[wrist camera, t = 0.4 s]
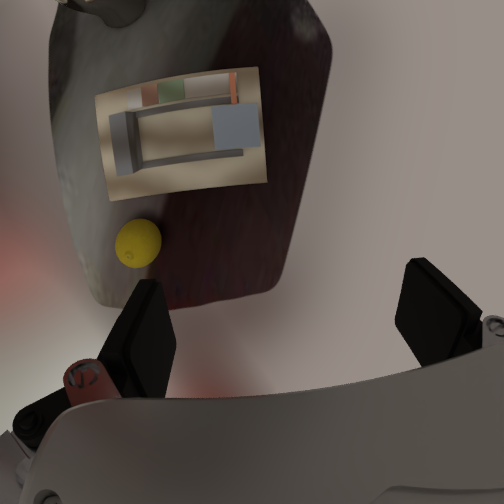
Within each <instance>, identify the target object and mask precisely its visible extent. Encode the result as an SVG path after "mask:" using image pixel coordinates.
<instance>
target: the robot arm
mask: <svg viewBox="0 0 504 504" xmlns="http://www.w3.org/2000/svg"><path fill="white" fill-rule="evenodd" d="M481 314H482V310H481V309H480V308H479V307H478V306H477V305H476V304H475V303H474V302H473V301H472V300H471V299H470V298H469V297H467V295H466V294H464V293H463V292H462V291H461V290H460V289H459V288H458V287H457V286H456V285H455V284H454V283H453V282H451V280H449V279H448V278H447V277H446V276H445V275H444V274H443V273H442V272H441V271H440V270H438V269H437V268H436V267H435V266H434V265H433V264H432V263H430V262H429V261H428V260H427V259H426V258H424V257H423V258H412V259H411V260H410V261H409V262H408V263H407V264H406V268H405V273H404V279H403V284H402V289H401V294H400V298H399V302H398V307H397V311H396V315H395V325H396V327H397V329H398V330H399V332H400V333H401V335H402V336H403V338H404V340H405V341H406V343H407V344H408V346H409V347H410V349H411V350H412V352H413V353H414V355H415V357H416V358H417V360H418V362H419V363H420V365H421V366H422V367H421V368H417V369H413V370H409V371H405V372H401V373H397V374H393V375H388V376H384V377H380V378H375V379H371V380H366V381H361V382H356V383H350V384H344V385H339V386H332V387H327V388H320V389H312V390H305V391H297V392H288V393H279V394H269V395H256V396H241V397H219V398H165V395H166V390H167V386H168V381H169V377H170V372H171V368H172V364H173V359H174V355H175V350H176V338H175V334H174V331H173V327H172V323H171V319H170V316H169V311H168V307H167V303H166V299H165V295H164V291H163V287H162V284H161V282H157V281H156V279H140V280H139V282H138V284H137V285H136V287H135V289H134V291H133V292H132V294H131V296H130V298H129V300H128V301H127V303H126V305H125V307H124V309H123V311H122V312H121V314H120V316H119V317H118V319H117V320H116V322H115V324H114V326H113V328H112V330H111V332H110V334H109V335H108V337H107V340H106V341H105V343H104V345H103V347H102V349H101V351H100V353H99V355H98V357H97V359H90V358H89V359H83V360H79V361H77V362H75V363H74V364H72V365H71V366H70V367H69V368H68V369H67V370H66V372H65V373H64V377H63V383H64V386H65V387H63V388H61V389H59V390H58V391H56V392H54V393H52V394H50V395H48V396H46V397H44V398H42V399H40V400H38V401H36V402H34V403H32V404H30V405H28V406H26V407H24V408H23V409H21V410H20V411H19V412H18V413H17V414H16V416H15V418H14V420H13V431H12V432H11V433H10V432H9V431H8V430H7V431H5V432H4V433H3V434H2V435H1V436H0V504H504V318H502V317H499V316H494V315H491V316H487V317H485V318H484V320H483V322H482V321H481V320H480V317H481Z"/></svg>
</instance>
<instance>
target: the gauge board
mask: <svg viewBox="0 0 504 504" xmlns="http://www.w3.org/2000/svg"><path fill="white" fill-rule="evenodd" d="M232 72H235V84H236V95H237V104H247V103H257V106H258V118H259V131H260V144H261V147H248V148H237V149H226V150H217V151H215V142H214V132H213V122H212V111H211V107H216V106H225V105H232V103H231V92H230V80H229V73H232ZM95 104H96V115H97V124H98V132H99V140H100V147H101V154H102V160H103V166H104V172H105V178H106V183H107V189H108V194H109V199H110V201H116V200H122V199H128V198H135V197H141V196H148V195H155V194H162V193H169V192H177V191H185V190H193V189H202V188H211V187H221V186H231V185H241V184H253V183H265V182H267V174H266V159H265V146H264V132H263V119H262V107H261V95H260V83H259V71H258V67H247V68H235V69H224V70H215V71H207V72H200V73H193V74H186V75H180V76H174V77H169V78H164V79H159V80H154V81H149V82H145V83H140V84H136V85H132V86H128V87H124V88H120V89H117V90H113V91H110V92H106V93H103V94H99V95H96V96H95Z"/></svg>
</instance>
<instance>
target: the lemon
mask: <svg viewBox="0 0 504 504" xmlns="http://www.w3.org/2000/svg"><path fill="white" fill-rule="evenodd" d="M160 248H161V234H160V231H159V229H158V228H157V226H156V225H155V224H154V223H152V222H151V221H149V220H146V219H135V220H132V221H130V222H128V223H126V224H125V225H124V226H123V227H122V228H121V230H120V232H119V233H118V235H117V238H116V242H115V250H116V254H117V256H118V258H119V259H120V261H121V262H122V263H123V264H125V265H127V266H129V267H132V268H140V267H144V266H146V265H147V264H149V263H151V262H152V261H153V260H154V259H155V258H156V256H157V255H158V253H159V251H160Z"/></svg>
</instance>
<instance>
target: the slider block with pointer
mask: <svg viewBox="0 0 504 504" xmlns="http://www.w3.org/2000/svg"><path fill="white" fill-rule="evenodd" d="M229 80H230V92H231V103H232V105H225V106H216V107H211V111H212V122H213V132H214V142H215V151H217V150H226V149H237V148H248V147H261V144H260V131H259V118H258V106H257V103H247V104H237V95H236V84H235V72H232V73H229Z"/></svg>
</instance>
